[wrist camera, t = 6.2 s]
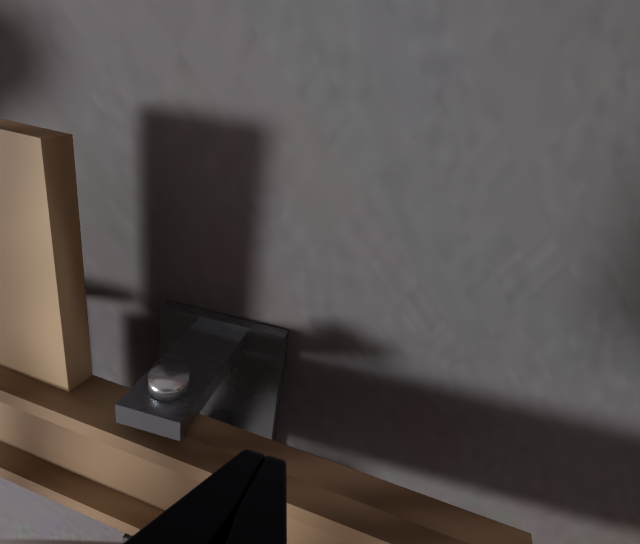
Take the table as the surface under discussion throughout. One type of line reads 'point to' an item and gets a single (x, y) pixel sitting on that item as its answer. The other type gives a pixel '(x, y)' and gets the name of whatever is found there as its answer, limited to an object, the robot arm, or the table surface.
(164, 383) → the stand
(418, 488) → the table surface
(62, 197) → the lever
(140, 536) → the robot arm
